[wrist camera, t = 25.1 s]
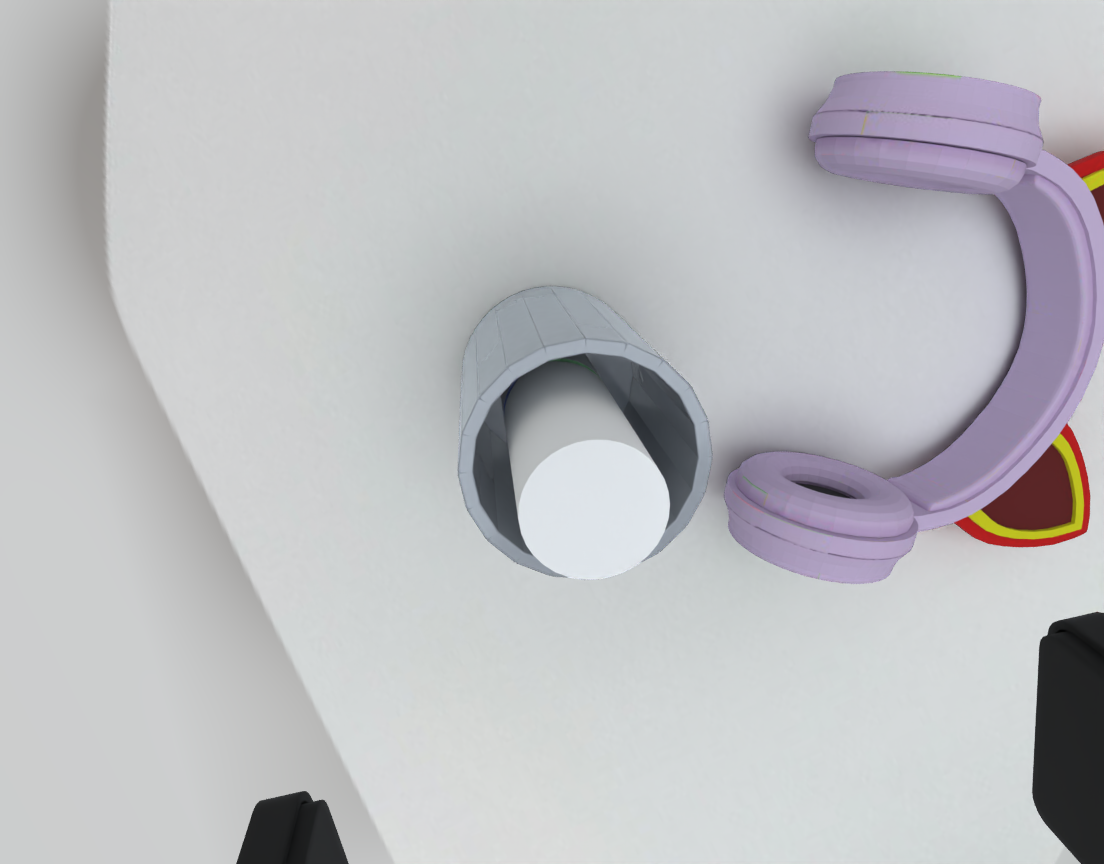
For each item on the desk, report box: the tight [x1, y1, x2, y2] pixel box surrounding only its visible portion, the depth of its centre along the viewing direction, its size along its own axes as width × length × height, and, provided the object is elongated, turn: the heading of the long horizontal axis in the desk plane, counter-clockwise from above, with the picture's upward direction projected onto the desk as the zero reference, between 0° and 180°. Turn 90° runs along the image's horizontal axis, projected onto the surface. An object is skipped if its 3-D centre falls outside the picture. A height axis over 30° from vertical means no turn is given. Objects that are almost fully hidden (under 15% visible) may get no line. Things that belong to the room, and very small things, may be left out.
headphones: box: [724, 71, 1104, 584], centre depth 34 cm, size 20×10×20 cm
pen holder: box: [458, 286, 712, 577], centre depth 31 cm, size 8×8×12 cm
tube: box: [501, 353, 670, 580], centre depth 29 cm, size 4×4×15 cm
